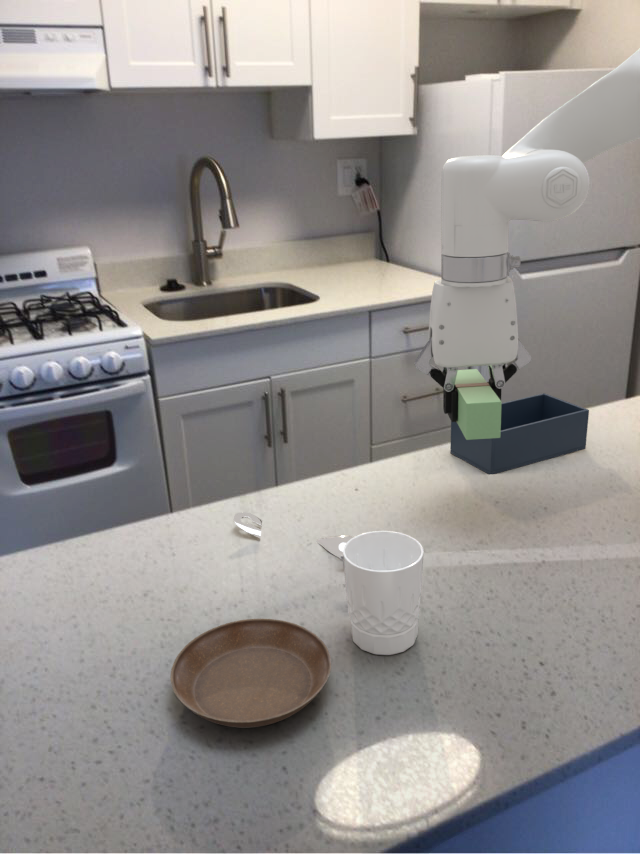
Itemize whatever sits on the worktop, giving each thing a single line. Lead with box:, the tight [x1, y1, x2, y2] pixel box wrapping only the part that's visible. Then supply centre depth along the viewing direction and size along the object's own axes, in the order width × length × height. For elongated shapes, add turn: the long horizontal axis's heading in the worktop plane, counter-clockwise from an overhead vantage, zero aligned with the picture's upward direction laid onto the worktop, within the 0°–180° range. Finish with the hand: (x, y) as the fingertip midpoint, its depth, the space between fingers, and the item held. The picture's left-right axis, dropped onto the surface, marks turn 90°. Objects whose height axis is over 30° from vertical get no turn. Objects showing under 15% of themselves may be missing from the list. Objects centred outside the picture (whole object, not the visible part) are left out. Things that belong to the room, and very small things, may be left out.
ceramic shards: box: [233, 511, 355, 560], centre depth 95 cm, size 20×4×5 cm
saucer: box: [169, 618, 332, 729], centre depth 70 cm, size 15×15×3 cm
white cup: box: [342, 530, 425, 656], centre depth 76 cm, size 8×8×10 cm
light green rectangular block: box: [455, 368, 503, 440], centre depth 93 cm, size 4×13×5 cm, turn 1°
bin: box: [449, 392, 590, 475], centre depth 119 cm, size 19×10×7 cm, turn 117°
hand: (471, 415), depth 94 cm, fingers closed on light green rectangular block, 4 cm apart
